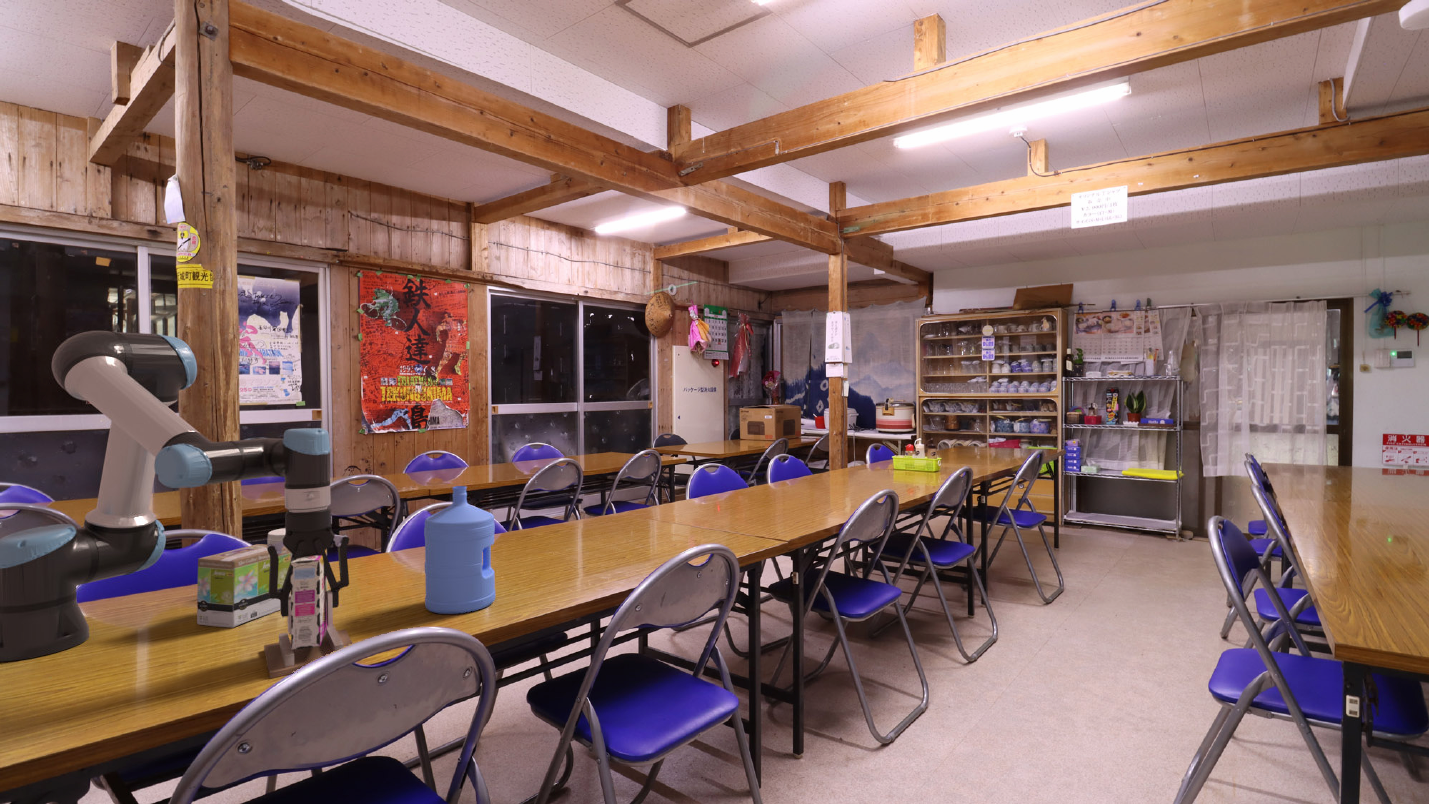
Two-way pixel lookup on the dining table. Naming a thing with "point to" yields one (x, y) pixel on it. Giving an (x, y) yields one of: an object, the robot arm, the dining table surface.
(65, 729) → the dining table surface
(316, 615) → the candy bar box
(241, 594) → the tea box
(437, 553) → the water jug
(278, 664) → the brown flat ridged block
